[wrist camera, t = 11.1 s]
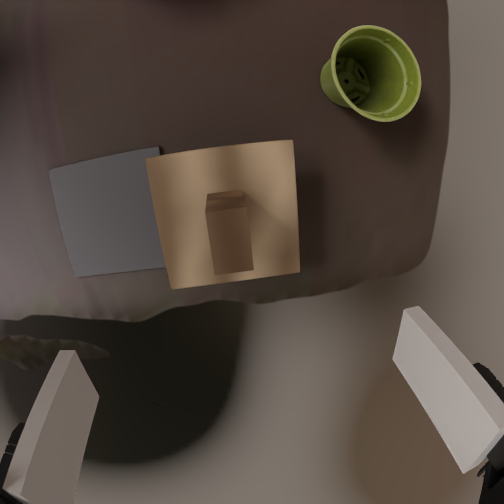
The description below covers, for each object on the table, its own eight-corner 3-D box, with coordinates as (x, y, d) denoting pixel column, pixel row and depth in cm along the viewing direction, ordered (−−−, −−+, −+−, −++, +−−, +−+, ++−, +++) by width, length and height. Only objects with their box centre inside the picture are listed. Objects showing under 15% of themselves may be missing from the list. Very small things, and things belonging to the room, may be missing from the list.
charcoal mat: (76, 275, 36) (75, 277, 36) (50, 169, 31) (48, 170, 30) (177, 263, 37) (177, 265, 37) (159, 146, 32) (158, 146, 31)
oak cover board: (172, 285, 32) (163, 324, 25) (147, 157, 26) (127, 168, 20) (298, 268, 32) (316, 303, 26) (290, 139, 27) (312, 144, 21)
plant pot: (288, 64, 29) (311, 48, 22) (353, 32, 28) (389, 13, 20) (332, 134, 33) (366, 139, 25) (392, 98, 32) (435, 97, 24)
